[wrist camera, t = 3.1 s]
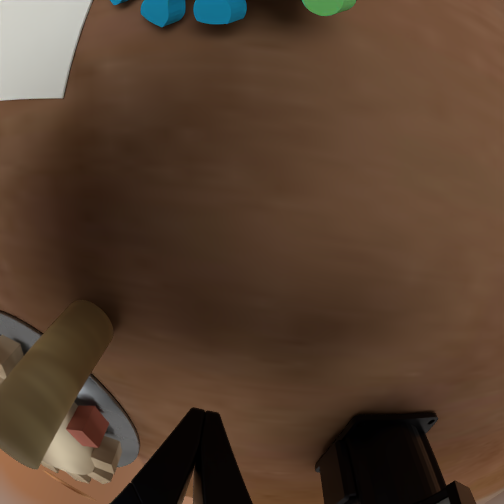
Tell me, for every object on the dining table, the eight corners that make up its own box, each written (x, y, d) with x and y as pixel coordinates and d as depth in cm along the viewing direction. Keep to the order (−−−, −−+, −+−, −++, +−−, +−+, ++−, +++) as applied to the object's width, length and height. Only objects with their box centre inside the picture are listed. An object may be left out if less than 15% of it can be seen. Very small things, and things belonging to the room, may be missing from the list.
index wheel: (112, 309, 11) (22, 443, 5) (132, 483, 18) (114, 548, 11) (-62, 238, 10) (-136, 285, 4) (1, 421, 17) (-28, 469, 10)
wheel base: (136, 364, 13) (134, 368, 13) (144, 482, 19) (143, 485, 19) (-53, 279, 12) (-55, 280, 12) (1, 417, 18) (-1, 418, 18)
